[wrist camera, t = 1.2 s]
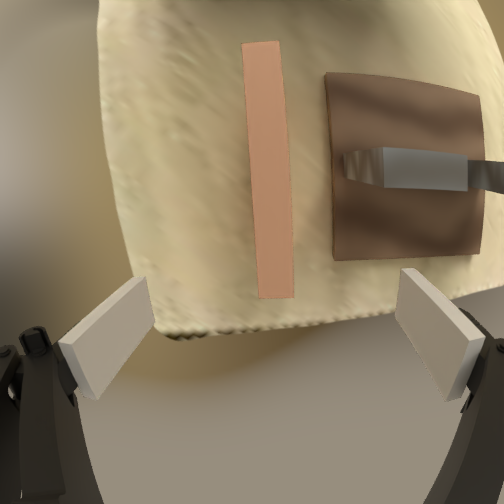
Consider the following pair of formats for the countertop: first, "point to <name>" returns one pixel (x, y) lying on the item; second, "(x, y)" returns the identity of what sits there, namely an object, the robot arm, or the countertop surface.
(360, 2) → the countertop surface
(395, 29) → the countertop surface
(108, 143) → the countertop surface
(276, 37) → the countertop surface
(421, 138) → the slotted stand
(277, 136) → the terracotta plate
